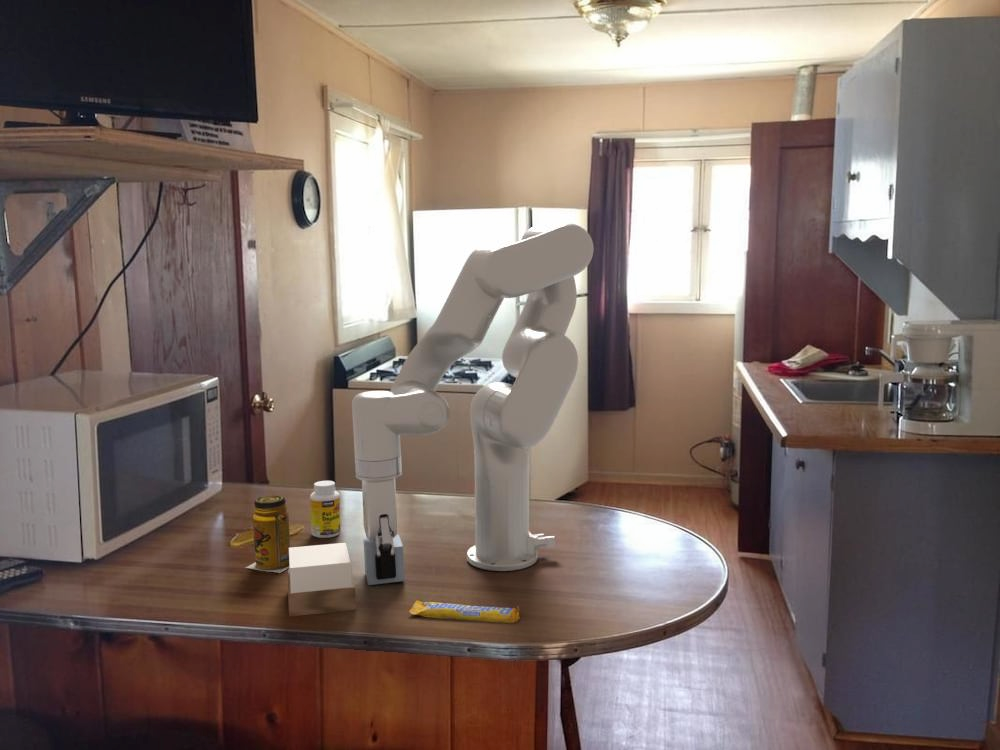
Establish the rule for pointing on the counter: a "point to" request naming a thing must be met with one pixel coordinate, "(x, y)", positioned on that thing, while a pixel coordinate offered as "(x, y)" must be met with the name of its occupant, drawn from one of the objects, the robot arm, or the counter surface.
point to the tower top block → (319, 567)
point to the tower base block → (322, 600)
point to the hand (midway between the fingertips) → (384, 569)
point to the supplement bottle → (325, 510)
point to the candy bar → (465, 612)
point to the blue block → (371, 565)
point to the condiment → (271, 534)
